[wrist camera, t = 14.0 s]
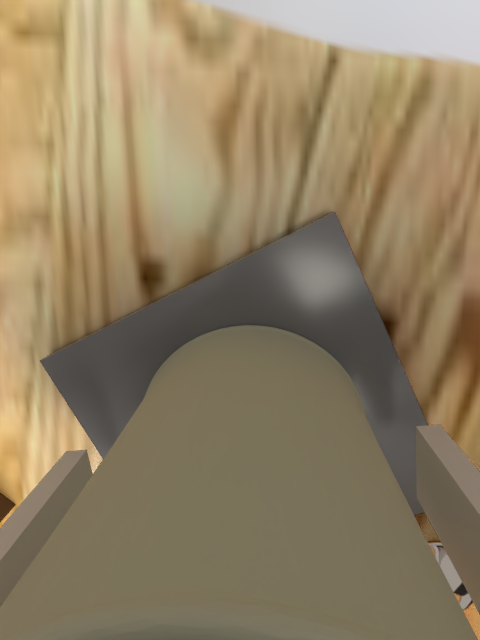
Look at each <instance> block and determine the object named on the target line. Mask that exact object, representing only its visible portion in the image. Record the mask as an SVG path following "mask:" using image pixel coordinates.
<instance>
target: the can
mask: <svg viewBox="0 0 480 640" xmlns="http://www.w3.org/2000/svg"><path fill="white" fill-rule="evenodd" d="M0 640H478V639H477V637H476V635H475V633H474V631H473V629H472V627H471V625H470V623H469V621H468V620H467V618H466V616H465V614H464V612H463V610H462V608H461V606H460V604H459V602H458V600H457V598H456V596H455V594H454V592H453V591H452V589H451V587H450V585H449V583H448V581H447V579H446V577H445V575H444V573H443V571H442V569H441V567H440V565H439V563H438V562H437V560H436V558H435V556H434V554H433V552H432V550H431V548H430V546H429V544H428V542H427V540H426V538H425V536H424V534H423V532H422V530H421V528H420V526H419V524H418V522H417V520H416V518H415V516H414V514H413V512H412V510H411V508H410V506H409V504H408V502H407V500H406V498H405V496H404V494H403V492H402V490H401V488H400V486H399V484H398V482H397V480H396V478H395V476H394V474H393V472H392V470H391V468H390V466H389V464H388V462H387V460H386V458H385V456H384V454H383V452H382V450H381V448H380V446H379V444H378V442H377V440H376V437H375V435H374V433H373V431H372V429H371V427H370V424H369V422H368V420H367V418H366V415H365V410H364V406H363V403H362V400H361V397H360V394H359V392H358V390H357V388H356V386H355V384H354V382H353V381H352V379H351V377H350V376H349V374H348V373H347V372H346V371H345V369H344V368H343V367H342V366H341V364H340V363H339V362H338V361H337V360H336V359H335V358H334V357H333V356H332V355H330V354H329V353H328V352H327V351H326V350H324V349H323V348H321V347H320V346H319V345H317V344H315V343H314V342H312V341H310V340H308V339H306V338H304V337H302V336H300V335H298V334H296V333H293V332H290V331H286V330H283V329H279V328H275V327H268V326H259V325H241V326H231V327H226V328H221V329H218V330H214V331H211V332H208V333H206V334H203V335H201V336H199V337H197V338H195V339H193V340H191V341H189V342H188V343H186V344H185V345H183V346H182V347H180V348H179V349H178V350H176V351H175V352H174V353H173V354H172V355H171V356H170V357H169V358H168V359H167V360H166V361H165V362H164V363H163V364H162V365H161V367H160V368H159V369H158V371H157V372H156V374H155V375H154V377H153V379H152V381H151V383H150V384H149V387H148V389H147V391H146V394H145V397H144V399H143V401H142V402H141V404H140V405H139V407H138V408H137V410H136V411H135V413H134V414H133V416H132V417H131V419H130V420H129V422H128V423H127V425H126V426H125V428H124V429H123V431H122V432H121V434H120V435H119V437H118V438H117V440H116V442H115V443H114V444H113V446H112V447H111V449H110V450H109V452H108V453H107V455H106V456H105V458H104V459H103V460H102V462H101V463H100V465H99V466H98V468H97V469H96V471H95V472H94V474H93V475H92V476H91V478H90V479H89V481H88V482H87V484H86V485H85V487H84V488H83V489H82V491H81V492H80V494H79V495H78V497H77V498H76V500H75V501H74V503H73V504H72V505H71V507H70V508H69V510H68V511H67V513H66V514H65V516H64V517H63V519H62V520H61V521H60V523H59V524H58V526H57V527H56V529H55V530H54V532H53V533H52V535H51V536H50V537H49V539H48V540H47V542H46V543H45V545H44V546H43V547H42V549H41V550H40V552H39V553H38V554H37V556H36V557H35V559H34V560H33V562H32V563H31V564H30V566H29V567H28V569H27V570H26V571H25V573H24V574H23V576H22V577H21V578H20V580H19V581H18V583H17V584H16V586H15V587H14V588H13V590H12V591H11V593H10V594H9V595H8V597H7V598H6V600H5V601H4V603H3V604H2V605H1V607H0Z"/></svg>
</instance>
